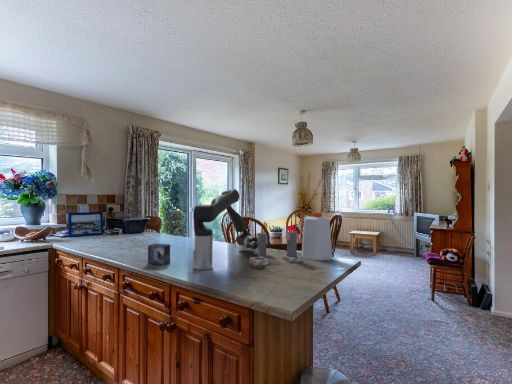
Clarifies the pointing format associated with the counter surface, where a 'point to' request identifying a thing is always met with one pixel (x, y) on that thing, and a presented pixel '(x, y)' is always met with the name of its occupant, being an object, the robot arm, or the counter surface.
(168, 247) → the small box
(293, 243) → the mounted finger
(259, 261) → the wooden base with sockets
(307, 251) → the grey bottle
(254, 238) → the robot arm
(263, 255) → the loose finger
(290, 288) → the counter surface
